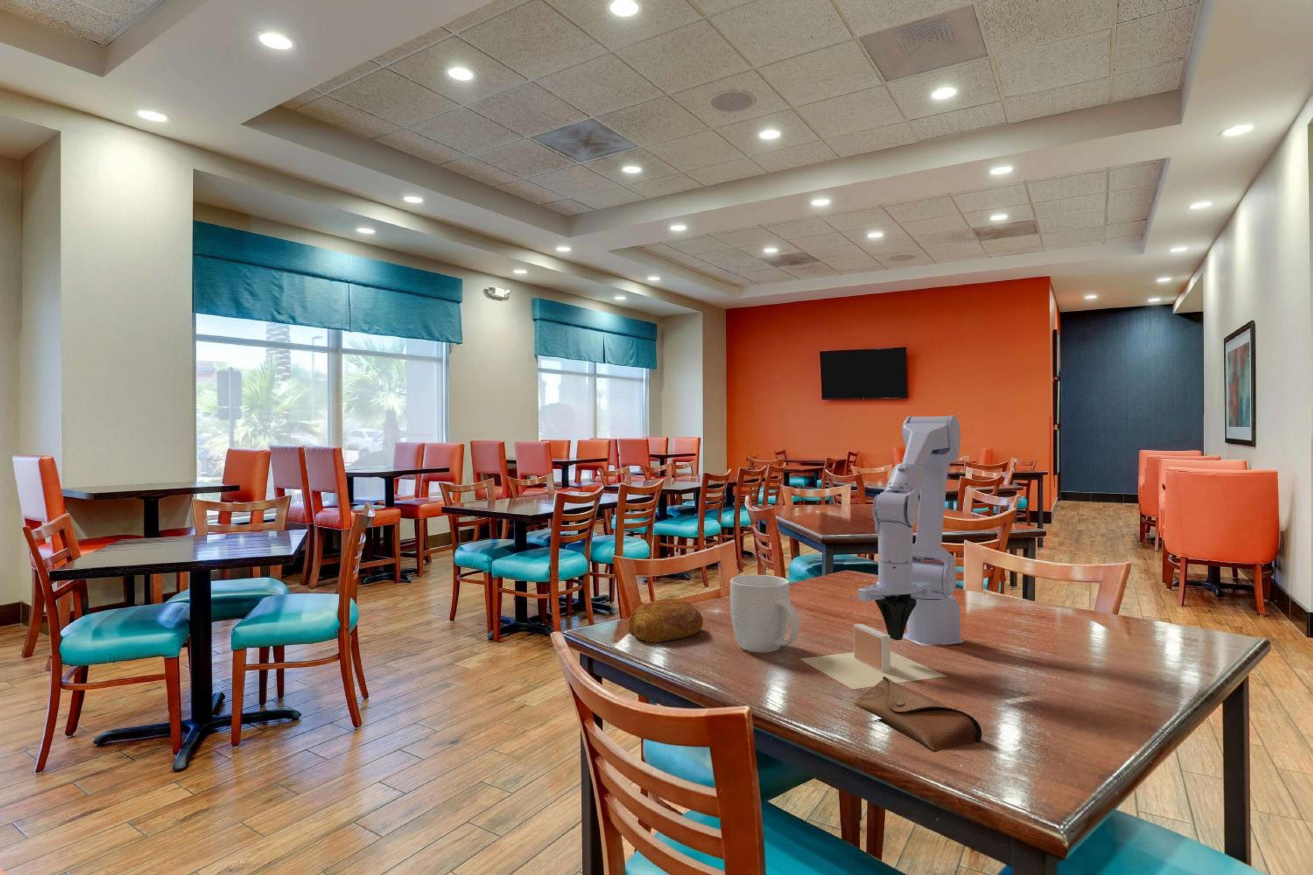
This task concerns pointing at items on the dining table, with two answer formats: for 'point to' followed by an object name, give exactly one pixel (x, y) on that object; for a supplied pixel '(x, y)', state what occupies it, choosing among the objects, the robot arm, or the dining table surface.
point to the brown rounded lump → (665, 620)
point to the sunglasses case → (920, 716)
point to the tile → (872, 647)
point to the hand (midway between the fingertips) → (895, 638)
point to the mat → (869, 670)
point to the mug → (762, 612)
